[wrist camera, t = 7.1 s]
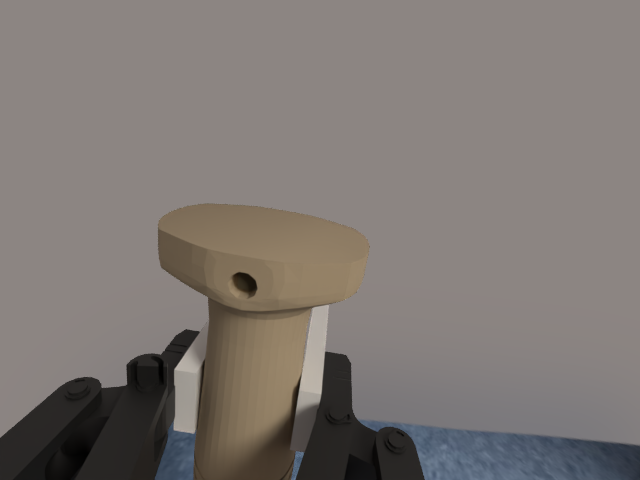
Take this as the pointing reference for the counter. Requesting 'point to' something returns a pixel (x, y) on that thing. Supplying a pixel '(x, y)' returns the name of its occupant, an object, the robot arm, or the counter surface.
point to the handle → (256, 322)
